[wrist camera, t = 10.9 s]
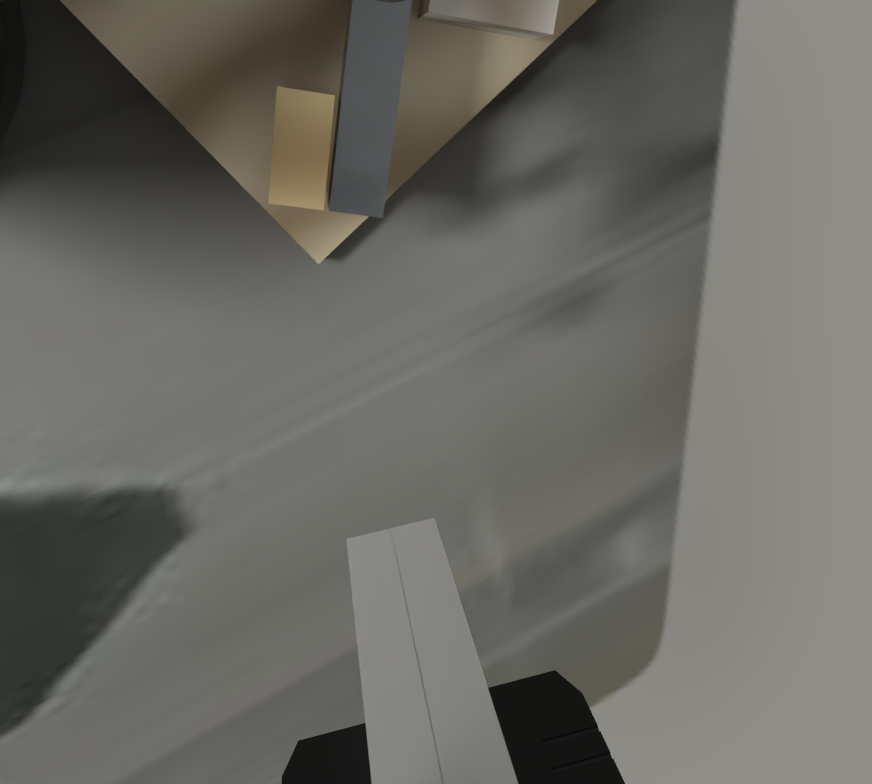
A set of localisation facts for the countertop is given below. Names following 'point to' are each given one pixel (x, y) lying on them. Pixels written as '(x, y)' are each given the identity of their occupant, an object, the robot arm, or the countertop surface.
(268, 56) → the lock plate
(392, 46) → the swing bar
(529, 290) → the countertop surface
